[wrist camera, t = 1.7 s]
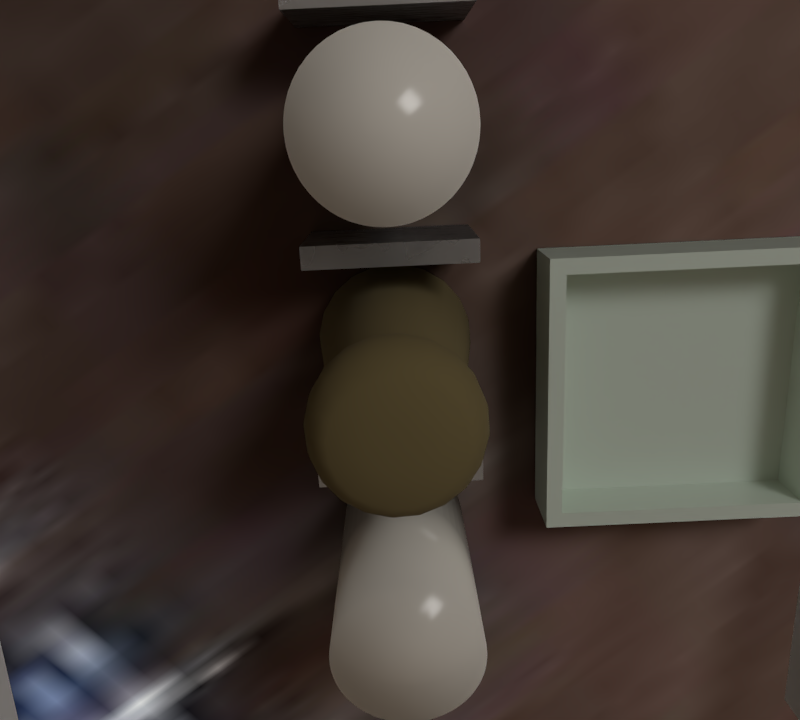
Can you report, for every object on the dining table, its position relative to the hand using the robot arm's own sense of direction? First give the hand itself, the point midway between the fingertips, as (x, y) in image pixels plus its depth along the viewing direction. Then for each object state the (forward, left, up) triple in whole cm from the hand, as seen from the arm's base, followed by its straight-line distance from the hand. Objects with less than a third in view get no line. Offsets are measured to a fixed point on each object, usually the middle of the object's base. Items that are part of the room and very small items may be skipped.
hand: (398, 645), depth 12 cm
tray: (+2, +11, -18) cm, 22 cm away
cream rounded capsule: (+8, 0, -18) cm, 20 cm away
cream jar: (-8, 0, -18) cm, 20 cm away
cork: (0, 0, -19) cm, 19 cm away
